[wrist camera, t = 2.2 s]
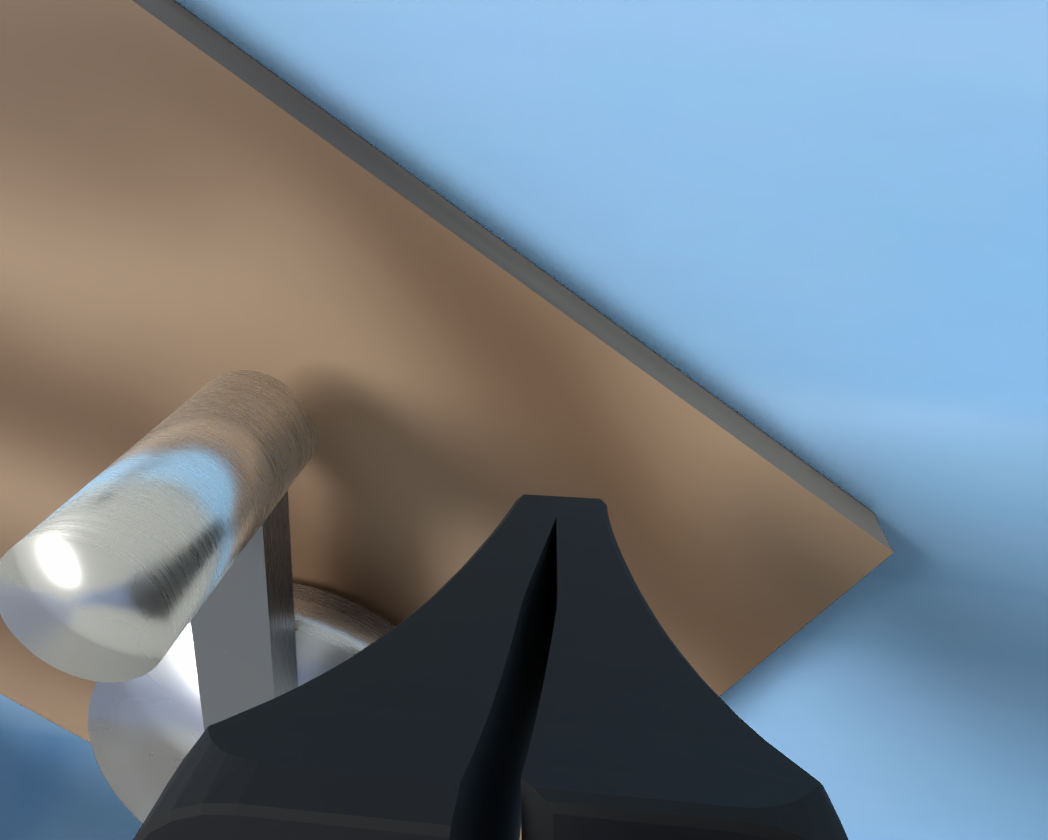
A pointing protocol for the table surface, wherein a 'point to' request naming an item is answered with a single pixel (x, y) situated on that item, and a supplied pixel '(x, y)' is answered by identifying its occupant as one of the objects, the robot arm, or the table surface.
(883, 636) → the table surface
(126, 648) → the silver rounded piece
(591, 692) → the robot arm
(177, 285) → the stand board
